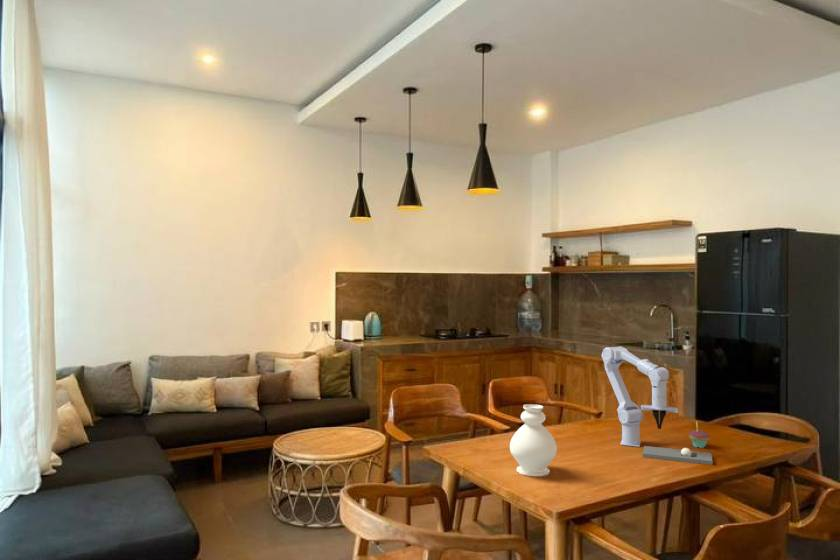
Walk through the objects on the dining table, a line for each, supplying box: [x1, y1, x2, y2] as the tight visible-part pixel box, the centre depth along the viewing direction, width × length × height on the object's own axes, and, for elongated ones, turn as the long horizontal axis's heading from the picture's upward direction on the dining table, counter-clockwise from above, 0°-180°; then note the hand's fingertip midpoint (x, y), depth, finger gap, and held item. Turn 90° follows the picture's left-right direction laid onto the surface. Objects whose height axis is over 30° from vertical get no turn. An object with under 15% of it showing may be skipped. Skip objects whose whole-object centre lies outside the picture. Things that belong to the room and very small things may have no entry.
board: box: [642, 445, 714, 466], centre depth 244 cm, size 12×26×2 cm, turn 67°
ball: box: [680, 447, 692, 457], centre depth 243 cm, size 4×4×4 cm
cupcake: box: [688, 419, 710, 449], centre depth 259 cm, size 9×8×12 cm
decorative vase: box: [509, 403, 558, 477], centre depth 226 cm, size 18×18×25 cm
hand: (659, 428), depth 250 cm, fingers closed
